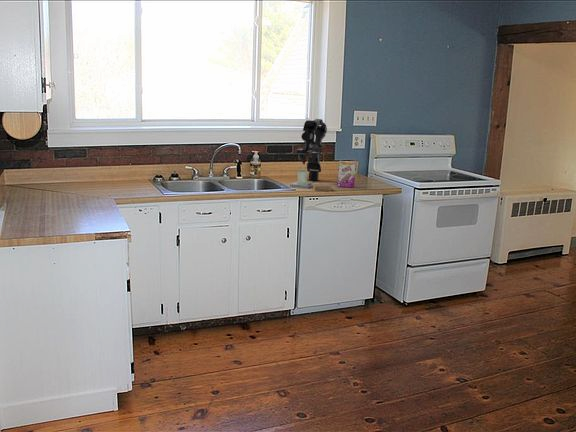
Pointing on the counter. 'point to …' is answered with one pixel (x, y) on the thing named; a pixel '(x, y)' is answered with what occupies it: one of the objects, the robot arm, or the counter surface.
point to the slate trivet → (302, 185)
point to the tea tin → (302, 176)
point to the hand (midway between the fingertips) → (308, 163)
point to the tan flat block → (321, 187)
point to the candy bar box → (346, 174)
